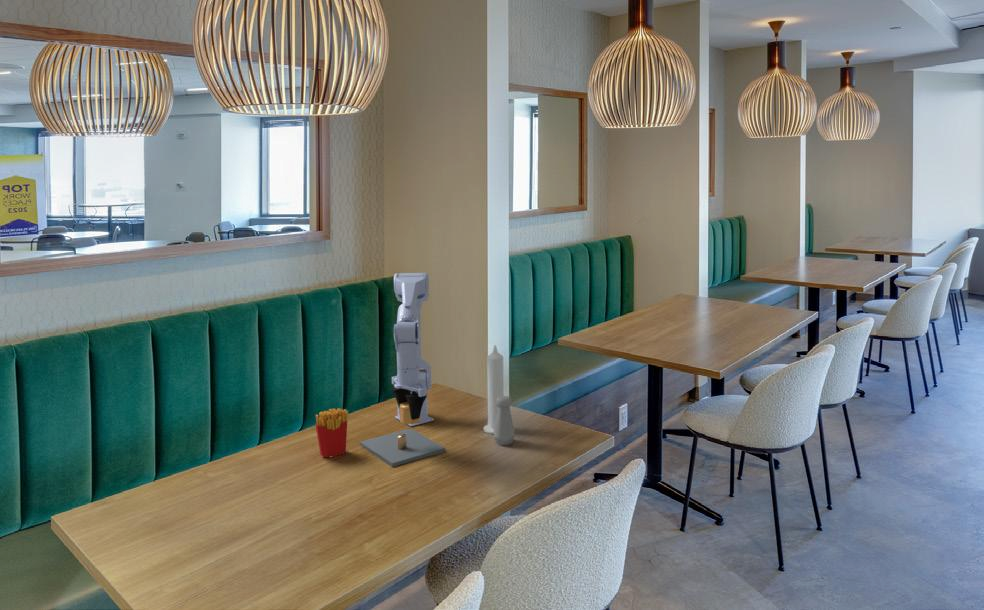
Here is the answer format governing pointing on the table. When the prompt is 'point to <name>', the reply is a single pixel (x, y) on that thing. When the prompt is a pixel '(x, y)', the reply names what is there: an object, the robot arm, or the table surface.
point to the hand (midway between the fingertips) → (409, 415)
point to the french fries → (332, 432)
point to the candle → (494, 387)
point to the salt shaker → (504, 422)
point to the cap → (407, 414)
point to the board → (393, 456)
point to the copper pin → (402, 441)
